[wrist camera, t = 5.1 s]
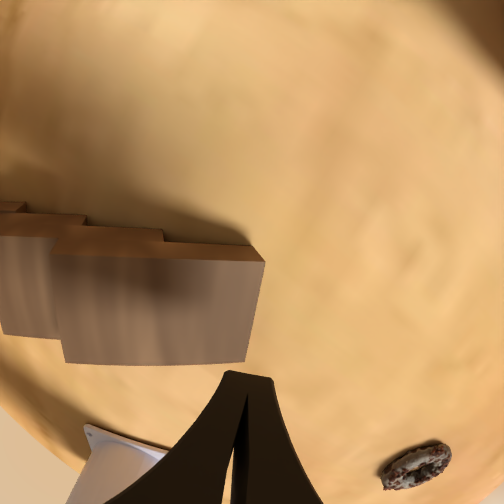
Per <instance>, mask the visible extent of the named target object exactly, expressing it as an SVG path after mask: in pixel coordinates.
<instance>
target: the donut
mask: <svg viewBox="0 0 504 504" xmlns="http://www.w3.org/2000/svg"><path fill="white" fill-rule="evenodd" d="M451 457H452V453H451V450H450V448H449V446H447V445H446V444H439V445H435V446H427V447H421V448H417V449H415V450H412V451H408V452H407V453H406V454H405V456H404V457H402V458H401V459H398V458H399V457H398V458H397V459H398V460H397V459H395V460H394V461H393V462H392V463H390V464H389V465H388V466H387V467H386V468H385V470H384V471H383V474H382V476H381V478H380V479H381V480H382V484H383V486H384V489H383V490H385V491H386V490H387V489H388V490H391V489H394V490H400V489H407V488H412V487H415V486H418V485H421V484H423V483H425V482H427V481H429V480H431V479H432V478H433V477H436V476H438V475H439V474H440V473H443V471H444V469H445V468H446V467H447V466H448V464H449V462H450V460H451ZM423 465H425V466H423ZM417 466H418V467H421V466H423V467H421V468H420V469H418V470H416V471H413V472H409V471H410V470H411V469H414V468H415V467H417ZM407 472H408V473H407Z"/></svg>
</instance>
